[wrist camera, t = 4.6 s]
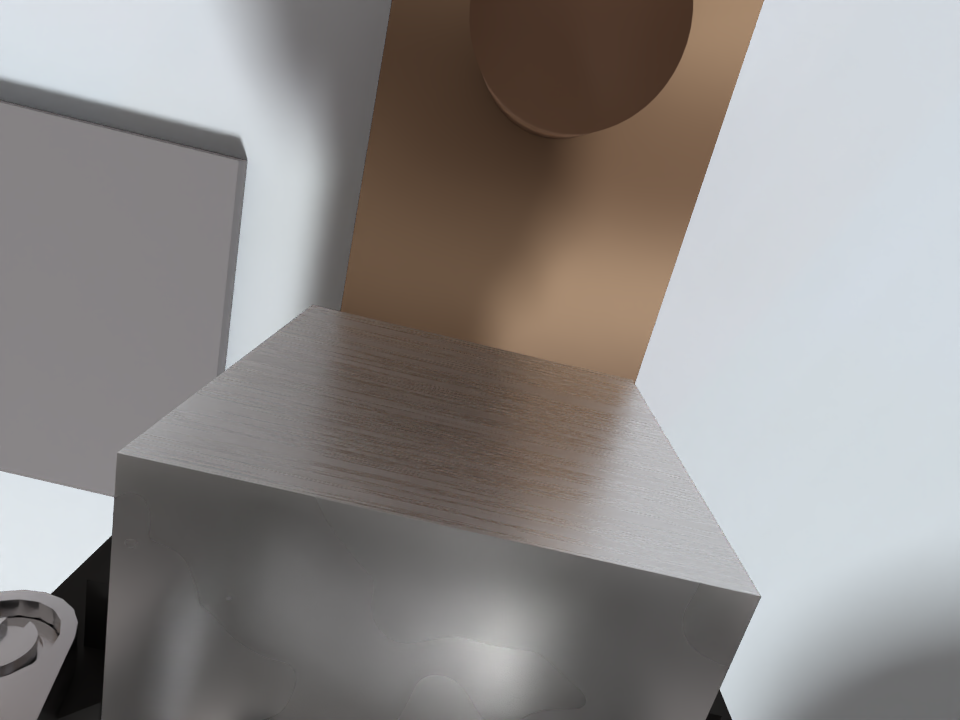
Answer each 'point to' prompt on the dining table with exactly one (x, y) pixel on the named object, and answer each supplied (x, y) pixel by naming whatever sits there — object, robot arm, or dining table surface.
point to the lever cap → (413, 543)
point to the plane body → (540, 168)
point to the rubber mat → (106, 288)
